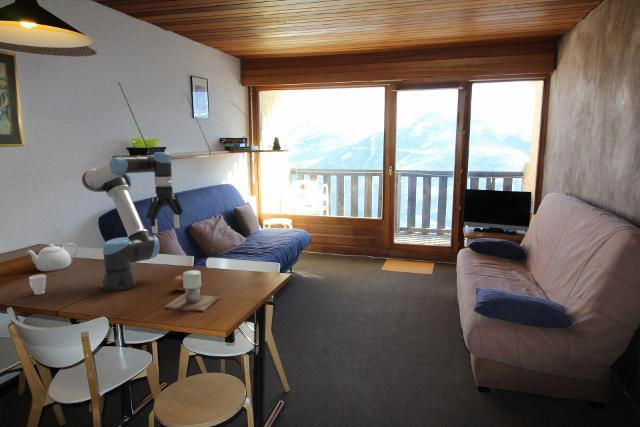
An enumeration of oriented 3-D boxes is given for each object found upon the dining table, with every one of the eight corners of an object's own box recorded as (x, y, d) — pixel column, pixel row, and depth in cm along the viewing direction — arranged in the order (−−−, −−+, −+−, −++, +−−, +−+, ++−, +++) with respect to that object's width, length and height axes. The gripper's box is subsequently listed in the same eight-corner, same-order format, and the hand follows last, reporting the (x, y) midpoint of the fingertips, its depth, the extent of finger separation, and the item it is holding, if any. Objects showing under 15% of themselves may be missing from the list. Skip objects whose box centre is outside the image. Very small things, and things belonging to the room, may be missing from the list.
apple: (173, 288, 212) (172, 272, 211) (190, 286, 216) (189, 270, 214) (174, 293, 205) (173, 277, 204) (192, 291, 208) (191, 275, 207)
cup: (35, 296, 201) (34, 279, 200) (23, 293, 206) (21, 276, 204) (51, 292, 207) (49, 275, 206) (38, 288, 212) (37, 272, 211)
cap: (204, 286, 191) (203, 272, 190) (188, 290, 186) (188, 276, 185) (195, 282, 196) (195, 269, 195) (180, 286, 191) (179, 272, 190)
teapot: (60, 272, 239) (58, 248, 237) (27, 272, 239) (24, 247, 237) (79, 263, 258) (77, 240, 256) (48, 263, 258) (46, 240, 256)
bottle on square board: (164, 308, 186) (162, 281, 184) (183, 296, 202) (182, 270, 200) (203, 311, 182) (202, 284, 180) (220, 298, 198) (219, 273, 196)
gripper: (148, 188, 191) (151, 235, 195) (189, 183, 213) (191, 226, 217) (136, 187, 195) (139, 234, 198) (177, 183, 217) (179, 225, 220)
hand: (166, 230), depth 207 cm, fingers open, 13 cm apart
